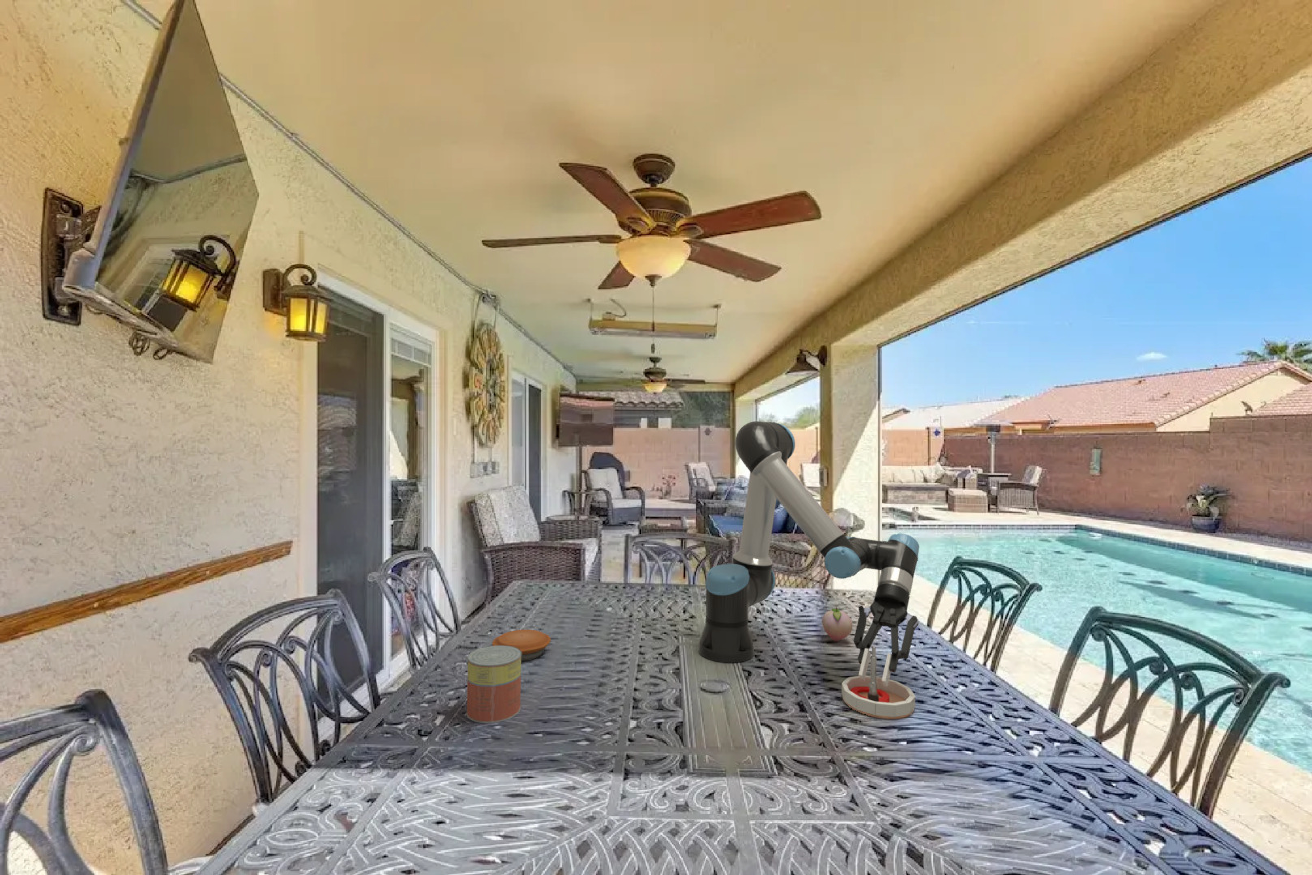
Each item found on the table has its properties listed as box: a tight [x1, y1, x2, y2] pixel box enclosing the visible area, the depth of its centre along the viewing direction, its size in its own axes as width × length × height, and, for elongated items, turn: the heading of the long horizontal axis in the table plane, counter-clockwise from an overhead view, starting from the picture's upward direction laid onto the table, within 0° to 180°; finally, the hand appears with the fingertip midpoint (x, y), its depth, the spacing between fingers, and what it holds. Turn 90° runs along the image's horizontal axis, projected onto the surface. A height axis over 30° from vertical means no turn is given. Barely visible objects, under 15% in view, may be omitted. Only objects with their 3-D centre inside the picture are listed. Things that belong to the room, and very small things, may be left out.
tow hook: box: [851, 646, 890, 703], centre depth 132 cm, size 8×13×9 cm
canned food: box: [465, 645, 522, 724], centre depth 124 cm, size 11×11×12 cm
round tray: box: [841, 675, 916, 720], centre depth 130 cm, size 15×15×3 cm
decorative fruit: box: [821, 606, 853, 642], centre depth 170 cm, size 9×8×10 cm
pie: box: [491, 629, 552, 662], centre depth 157 cm, size 16×16×5 cm
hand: (873, 680), depth 127 cm, fingers open, 4 cm apart
